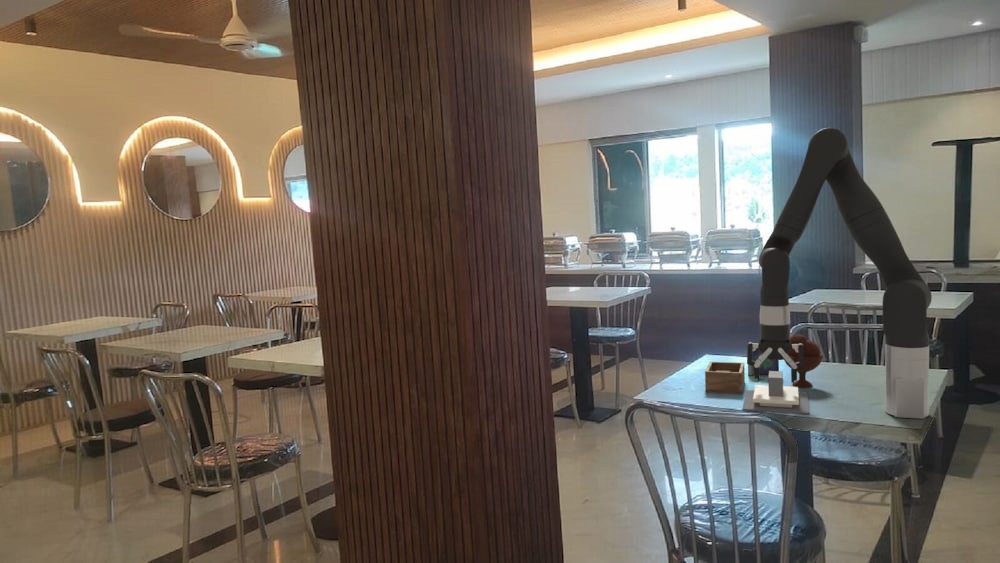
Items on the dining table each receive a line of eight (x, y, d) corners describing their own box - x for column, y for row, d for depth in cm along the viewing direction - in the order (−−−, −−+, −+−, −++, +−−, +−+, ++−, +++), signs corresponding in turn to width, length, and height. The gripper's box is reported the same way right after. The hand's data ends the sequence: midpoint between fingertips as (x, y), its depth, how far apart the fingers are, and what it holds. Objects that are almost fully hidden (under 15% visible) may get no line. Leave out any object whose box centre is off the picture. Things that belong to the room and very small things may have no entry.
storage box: (742, 393, 192) (741, 373, 191) (705, 392, 196) (705, 371, 195) (744, 382, 205) (744, 362, 204) (710, 380, 209) (709, 361, 208)
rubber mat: (809, 414, 170) (809, 412, 170) (742, 410, 176) (742, 408, 176) (807, 394, 188) (807, 392, 188) (746, 391, 194) (746, 390, 194)
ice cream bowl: (784, 389, 194) (784, 338, 193) (781, 380, 205) (780, 331, 203) (825, 390, 191) (824, 338, 190) (819, 381, 201) (818, 331, 200)
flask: (748, 375, 213) (747, 342, 212) (747, 373, 216) (746, 340, 215) (779, 376, 211) (779, 342, 210) (778, 374, 213) (777, 340, 212)
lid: (798, 409, 173) (798, 382, 172) (753, 406, 177) (752, 380, 177) (798, 394, 187) (797, 369, 186) (755, 392, 191) (755, 367, 190)
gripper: (745, 323, 180) (746, 383, 181) (804, 324, 174) (805, 386, 175) (747, 319, 186) (748, 377, 188) (803, 320, 181) (804, 379, 182)
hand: (775, 381), depth 182 cm, fingers open, 8 cm apart
